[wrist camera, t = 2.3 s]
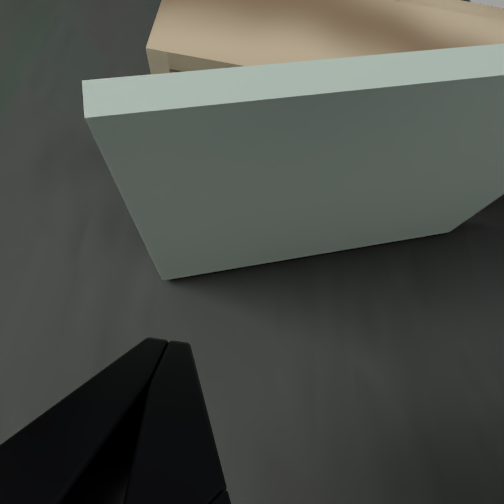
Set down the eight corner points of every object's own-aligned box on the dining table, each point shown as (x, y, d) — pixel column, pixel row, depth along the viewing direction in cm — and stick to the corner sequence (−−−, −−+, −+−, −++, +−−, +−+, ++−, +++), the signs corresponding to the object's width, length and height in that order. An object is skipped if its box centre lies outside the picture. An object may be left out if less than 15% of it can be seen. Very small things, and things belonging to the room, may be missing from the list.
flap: (456, 230, 22) (715, 53, 10) (162, 280, 19) (84, 117, 8) (450, 215, 22) (693, 26, 11) (159, 262, 19) (82, 80, 8)
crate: (442, 214, 22) (555, 122, 15) (170, 167, 22) (145, 48, 14) (438, 131, 24) (536, 14, 17) (191, 86, 24) (179, -54, 16)
